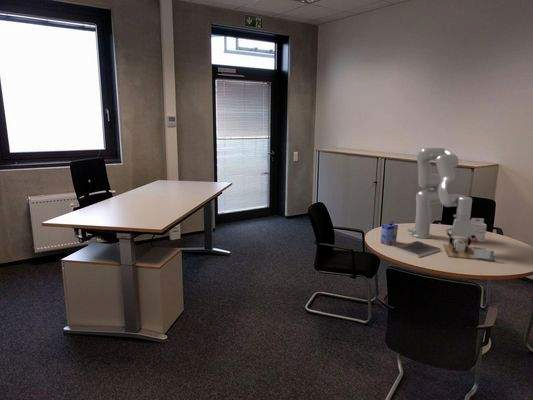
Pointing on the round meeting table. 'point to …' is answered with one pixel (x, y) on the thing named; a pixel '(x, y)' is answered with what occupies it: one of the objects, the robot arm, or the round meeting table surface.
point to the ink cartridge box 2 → (478, 229)
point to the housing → (466, 254)
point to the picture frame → (417, 249)
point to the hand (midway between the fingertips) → (459, 244)
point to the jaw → (459, 245)
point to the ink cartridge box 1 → (389, 233)
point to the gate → (483, 254)
